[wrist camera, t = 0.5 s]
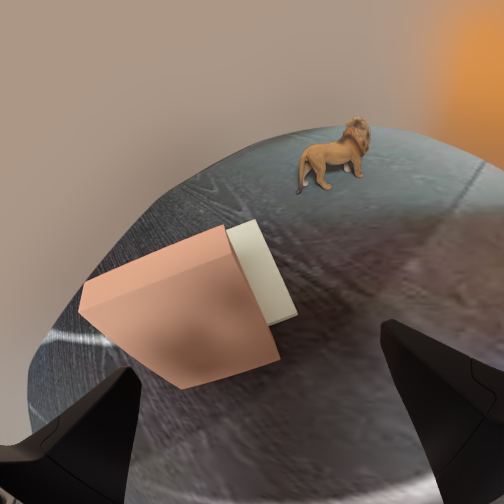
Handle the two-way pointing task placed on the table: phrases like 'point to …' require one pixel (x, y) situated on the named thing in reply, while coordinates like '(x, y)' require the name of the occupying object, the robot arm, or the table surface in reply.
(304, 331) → the table surface
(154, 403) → the table surface
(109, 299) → the terracotta board
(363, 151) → the lion figurine
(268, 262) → the rubber mat
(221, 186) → the table surface
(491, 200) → the table surface
